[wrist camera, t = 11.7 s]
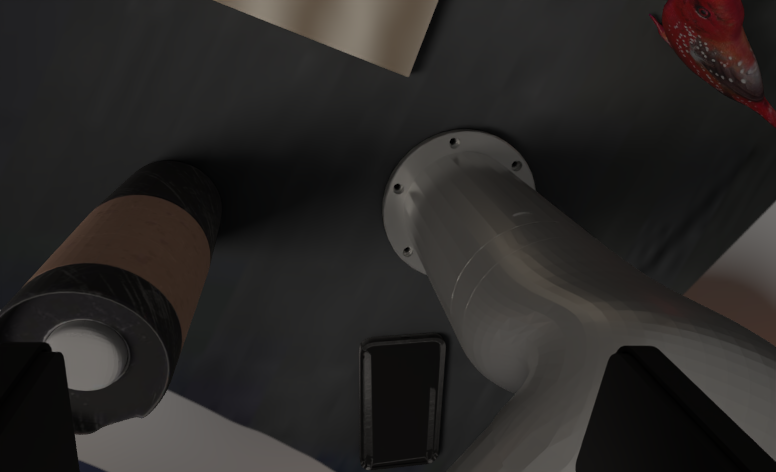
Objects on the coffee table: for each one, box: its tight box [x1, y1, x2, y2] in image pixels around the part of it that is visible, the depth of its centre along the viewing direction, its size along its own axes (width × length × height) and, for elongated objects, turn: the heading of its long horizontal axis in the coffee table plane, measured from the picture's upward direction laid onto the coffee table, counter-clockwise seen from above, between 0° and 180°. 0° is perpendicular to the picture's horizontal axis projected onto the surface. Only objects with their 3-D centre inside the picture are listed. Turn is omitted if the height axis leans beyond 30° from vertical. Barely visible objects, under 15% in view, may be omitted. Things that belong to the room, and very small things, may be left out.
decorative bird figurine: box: [649, 0, 776, 128], centre depth 38 cm, size 3×18×10 cm, turn 49°
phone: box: [359, 333, 446, 470], centre depth 52 cm, size 8×1×15 cm
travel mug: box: [0, 161, 222, 435], centre depth 32 cm, size 8×8×20 cm
